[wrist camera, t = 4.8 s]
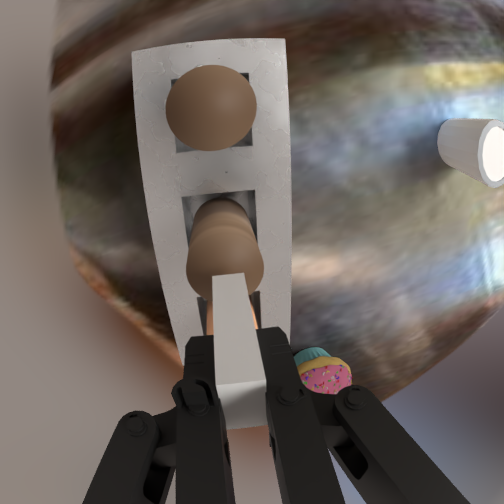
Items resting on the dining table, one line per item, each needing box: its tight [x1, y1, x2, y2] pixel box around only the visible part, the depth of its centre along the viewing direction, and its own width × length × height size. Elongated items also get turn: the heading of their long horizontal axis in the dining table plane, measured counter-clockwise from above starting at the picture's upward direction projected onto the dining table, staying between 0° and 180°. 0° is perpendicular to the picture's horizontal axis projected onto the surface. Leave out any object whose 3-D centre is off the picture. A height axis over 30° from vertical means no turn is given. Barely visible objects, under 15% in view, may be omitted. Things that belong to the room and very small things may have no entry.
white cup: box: [437, 118, 504, 188], centre depth 23 cm, size 7×7×7 cm
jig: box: [132, 38, 292, 365], centre depth 24 cm, size 26×10×6 cm, turn 3°
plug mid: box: [186, 197, 264, 302], centre depth 18 cm, size 4×4×7 cm
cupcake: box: [294, 347, 352, 394], centre depth 31 cm, size 9×8×12 cm
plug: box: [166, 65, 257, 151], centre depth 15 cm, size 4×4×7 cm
